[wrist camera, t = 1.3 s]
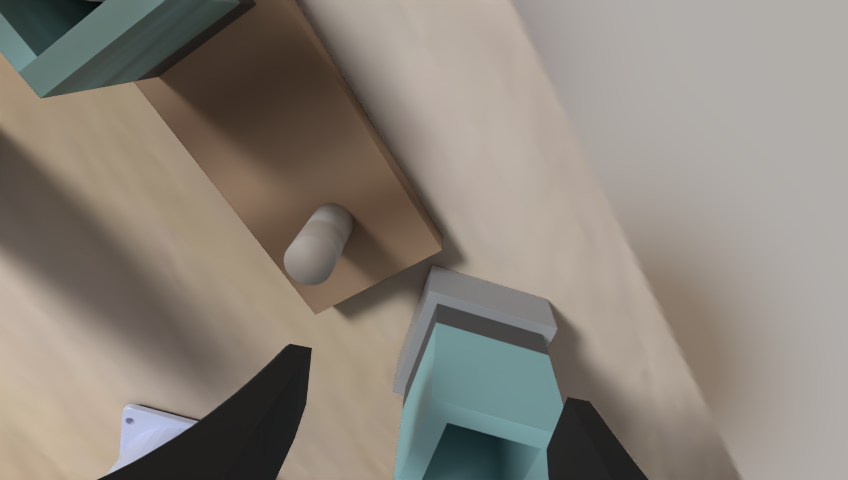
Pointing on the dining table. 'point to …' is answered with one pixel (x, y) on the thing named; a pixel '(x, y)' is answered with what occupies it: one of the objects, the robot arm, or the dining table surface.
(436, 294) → the block
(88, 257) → the dining table surface
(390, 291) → the dining table surface
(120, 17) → the peg board
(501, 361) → the sleeve
